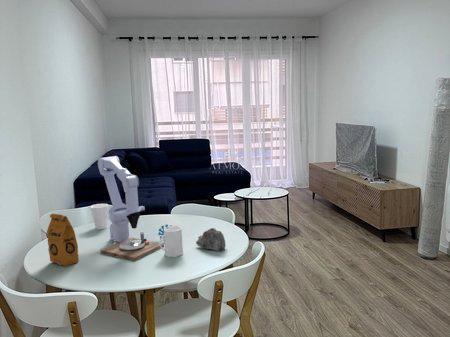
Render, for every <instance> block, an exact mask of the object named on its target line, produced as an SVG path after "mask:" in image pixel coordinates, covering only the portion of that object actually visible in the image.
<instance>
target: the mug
mask: <svg viewBox="0 0 450 337" xmlns="http://www.w3.org/2000/svg"><path fill="white" fill-rule="evenodd" d="M182 230H183V229H182V227H181V226H179V225H177V226H176V225H172V226H170V225H169V226H168V227H164V235H161V236H162V237H161V239H160V238H159V243H160V247H161V248H160V250H161V249H162V250H163V251H164V255H165V257H168V258H177V257H180V256H183V254H184V250H183V248H184V247H183V233H182ZM163 237H164V238H163ZM162 240H164V241H163V243H164V247H162V246H161V243H162Z"/></svg>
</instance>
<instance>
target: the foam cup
mask: <svg viewBox="0 0 450 337" xmlns="http://www.w3.org/2000/svg"><path fill="white" fill-rule="evenodd" d="M90 211H91V216H92V219H93V223H94V228H95V229H96V230H104V229H107V228H108V220H109V204H108V203H96V204H92V205H91V206H90Z"/></svg>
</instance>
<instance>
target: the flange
mask: <svg viewBox="0 0 450 337" xmlns="http://www.w3.org/2000/svg"><path fill="white" fill-rule="evenodd" d="M139 235H140V239H141V240H130V241H126V242H123V243H121V244H120V245H119V247H120V249H121V250H125V251H132V250H138V249H141V248H143V247H144V246H145V244H149V241H150V240H148V241H144V239H145V232H144V231H143V232H140V234H139Z"/></svg>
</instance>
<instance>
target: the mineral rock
mask: <svg viewBox="0 0 450 337" xmlns="http://www.w3.org/2000/svg"><path fill="white" fill-rule="evenodd" d="M197 238H198V239H197V240H196V241H195V244H196V246H198V247H200V248H203V249H206V250H207V249H208V250H211V251H212V250H213V251H217V252H218V251H219V252H221V251H222V250H225V248H226V240H225V236H224V234H223V233H222V231H221V230H217V229H216V228H214V227H212V228H211V227H210V228H209V229H207V230H205V231H203V233H202V235H200V236H198V237H197Z"/></svg>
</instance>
